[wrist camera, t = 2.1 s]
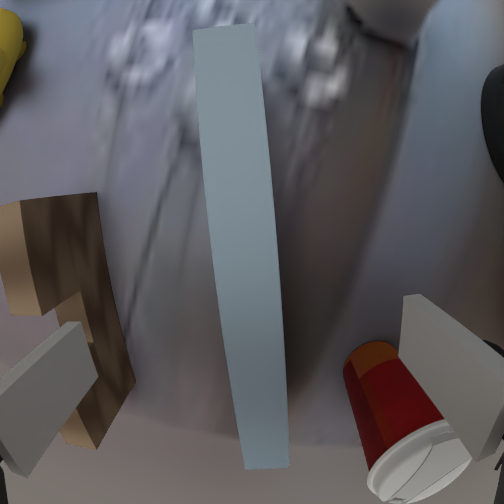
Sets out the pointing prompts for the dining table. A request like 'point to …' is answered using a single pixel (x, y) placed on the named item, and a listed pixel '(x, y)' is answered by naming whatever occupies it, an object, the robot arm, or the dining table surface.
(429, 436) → the paper cup
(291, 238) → the dining table surface
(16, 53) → the teapot
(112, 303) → the notched walnut block
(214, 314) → the dining table surface
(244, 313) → the slate board
